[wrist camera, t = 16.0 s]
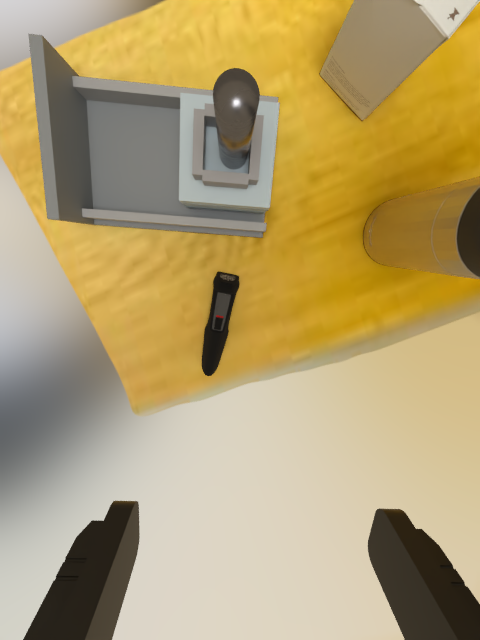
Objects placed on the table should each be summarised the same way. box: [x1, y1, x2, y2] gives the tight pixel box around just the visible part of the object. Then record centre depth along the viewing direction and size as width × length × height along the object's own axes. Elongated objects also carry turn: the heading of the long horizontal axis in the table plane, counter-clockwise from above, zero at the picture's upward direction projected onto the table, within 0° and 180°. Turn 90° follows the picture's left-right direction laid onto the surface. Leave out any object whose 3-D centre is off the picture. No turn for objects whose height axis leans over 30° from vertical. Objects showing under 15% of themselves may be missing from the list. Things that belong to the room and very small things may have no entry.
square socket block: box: [179, 93, 280, 214], centre depth 32 cm, size 10×10×10 cm
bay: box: [29, 34, 278, 238], centre depth 33 cm, size 24×16×9 cm, turn 86°
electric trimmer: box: [202, 272, 239, 376], centre depth 42 cm, size 4×16×3 cm, turn 167°
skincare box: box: [320, 0, 480, 120], centre depth 28 cm, size 8×7×16 cm
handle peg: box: [213, 68, 260, 169], centre depth 24 cm, size 3×3×12 cm
